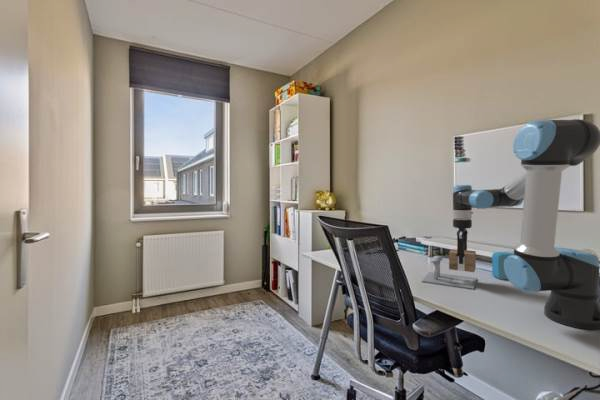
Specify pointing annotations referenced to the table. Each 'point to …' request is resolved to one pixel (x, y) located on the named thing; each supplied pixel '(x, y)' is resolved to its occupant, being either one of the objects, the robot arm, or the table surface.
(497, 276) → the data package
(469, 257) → the wooden notched block
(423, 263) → the table surface
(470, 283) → the boss board
